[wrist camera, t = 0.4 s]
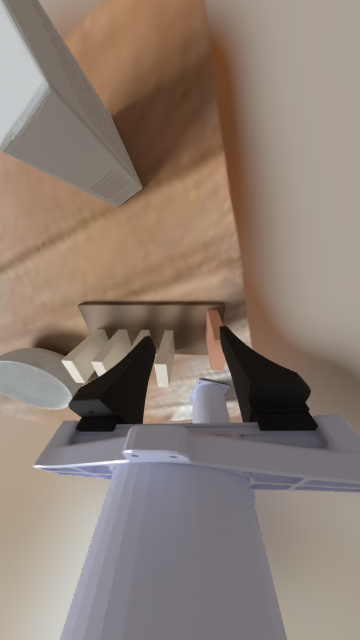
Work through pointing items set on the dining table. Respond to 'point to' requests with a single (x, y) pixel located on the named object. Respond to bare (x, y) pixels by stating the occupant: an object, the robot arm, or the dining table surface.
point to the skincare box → (56, 109)
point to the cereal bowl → (37, 378)
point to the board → (154, 322)
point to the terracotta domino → (214, 340)
